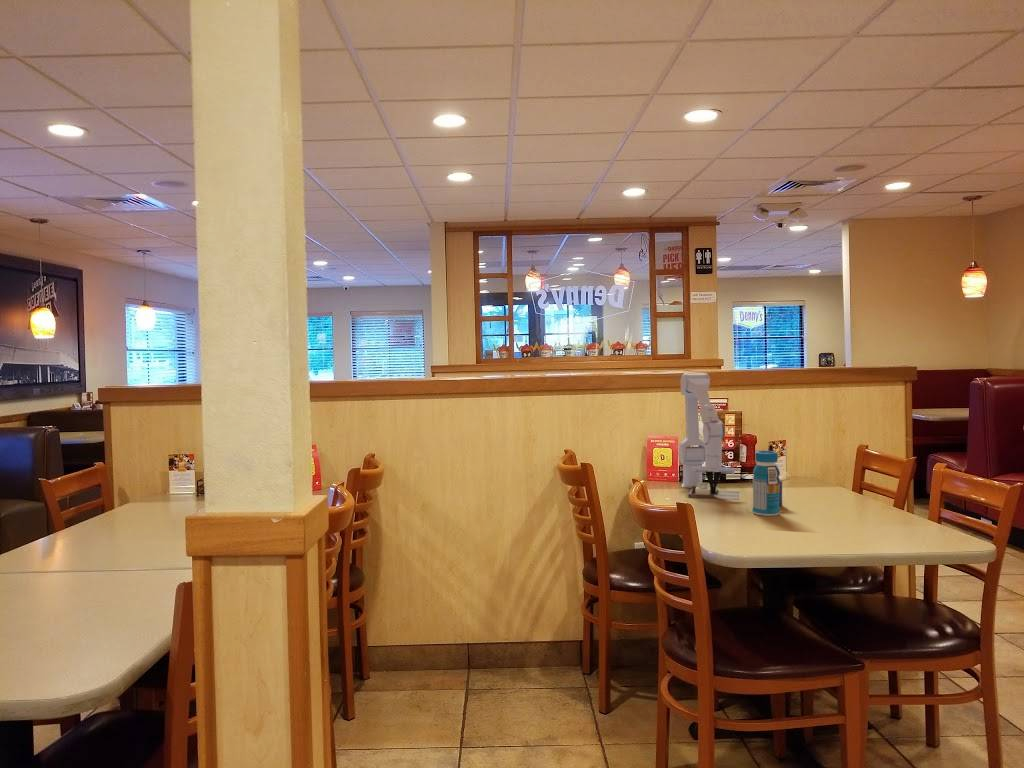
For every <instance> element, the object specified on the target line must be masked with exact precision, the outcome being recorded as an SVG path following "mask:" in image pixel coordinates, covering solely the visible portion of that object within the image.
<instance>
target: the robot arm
mask: <svg viewBox="0 0 1024 768" xmlns="http://www.w3.org/2000/svg"><path fill="white" fill-rule="evenodd" d="M679 383H680V393H681V395H682V396H684V407H685V409H684V410H685V411H684V412H685V433H686V434H685V436H686V437H685V438H684V439H683V440H682V441H681V442H680V443H679V445H678V447H679V448H678V460H679V461H680V463H681V464H682V470H683V471H682V484H681V488H686V489H687V488H690V489H691V487H692V486H697V484H698V483H702V482H703V473H704V474H705V477H706V479H707V481H708V482H707V483H709V484H710V488H711V493H712V494H715V491H716V487H718V484H719V480H720V479H721V476H722V474H726V475H727V474H731V475H735V472H736V470H735V467H724V466H722V465H723V464H722V463H723V462H722V461H723V460H722V459H723V450H722V449H723V446H722V445H723V443H722V442H723V438H724V436H725V433H726V432H725V431H726V429H725V424H724V422H723V421H722V420H721V419H719V417H718V414H717V410H716V407H715V406H714V405H712V404H711V400H710V395H709V390H710V384H711V379H710V376H709V373H708V372H704V373H701V372H700V373H698V372H697V373H685V372H684V373H683V374H681V377H680V382H679ZM699 406H700V409H699ZM699 415H700V417H701V421H702V434H703V435H702V436H703V440H702V439H701V438H700V424H699V423H700V422H699V419H700V418H699ZM703 465H704V466H703Z"/></svg>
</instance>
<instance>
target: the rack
mask: <svg viewBox="0 0 1024 768" xmlns="http://www.w3.org/2000/svg"><path fill="white" fill-rule="evenodd" d="M696 487H697V486H692V487H691V488H690V489H689V490H688V492H687V494H686V495H687V496H686V498H687V499H706V500H728V501H740V494H741V493H740V492H741V491H737V490H736V491H734V490H719V487H718V486H716V491H715V494H712V493H711V490H710V495H705V494H695V489H696Z"/></svg>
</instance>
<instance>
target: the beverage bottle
mask: <svg viewBox="0 0 1024 768" xmlns="http://www.w3.org/2000/svg"><path fill="white" fill-rule="evenodd" d="M754 454H755V457H754V459H755V463H757V464H756V465H755V466H754V468H753V470H752V474H753V477H752V480H751V481H752V505H753V506H752V513H753V514H755V515H757V516H763V517H775V516H779V515H780V506H779V487H780V480H781V479H780V474H781V473H780V469H779V468H778V466H777V465H776V464H777V463H778V459H779V458H778V452H777V451H773V450H758V451H755V453H754Z"/></svg>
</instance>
